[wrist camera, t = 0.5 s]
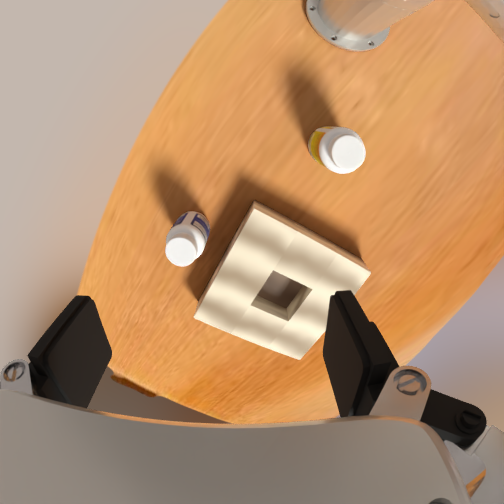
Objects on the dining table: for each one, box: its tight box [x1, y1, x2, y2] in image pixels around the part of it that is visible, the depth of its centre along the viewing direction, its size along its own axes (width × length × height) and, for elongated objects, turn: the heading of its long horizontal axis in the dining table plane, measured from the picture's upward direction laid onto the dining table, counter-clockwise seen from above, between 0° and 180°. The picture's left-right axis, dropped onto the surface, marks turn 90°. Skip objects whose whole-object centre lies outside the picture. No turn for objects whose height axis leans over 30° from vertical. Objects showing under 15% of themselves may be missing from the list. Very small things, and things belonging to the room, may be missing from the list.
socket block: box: [194, 200, 371, 360], centre depth 45 cm, size 20×20×4 cm
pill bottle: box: [165, 211, 210, 266], centre depth 39 cm, size 5×5×9 cm
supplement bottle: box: [308, 126, 365, 174], centre depth 33 cm, size 6×6×10 cm
